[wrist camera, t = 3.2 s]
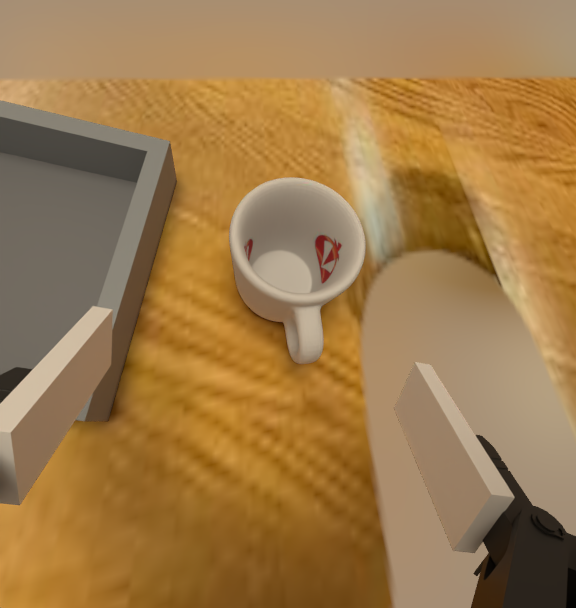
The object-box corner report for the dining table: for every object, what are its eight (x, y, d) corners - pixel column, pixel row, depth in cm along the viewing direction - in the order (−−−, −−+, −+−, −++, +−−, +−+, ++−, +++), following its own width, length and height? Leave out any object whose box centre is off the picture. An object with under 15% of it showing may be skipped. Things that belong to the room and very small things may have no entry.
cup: (345, 364, 28) (392, 344, 20) (238, 380, 26) (246, 364, 19) (318, 233, 31) (351, 173, 23) (220, 240, 29) (221, 177, 22)
